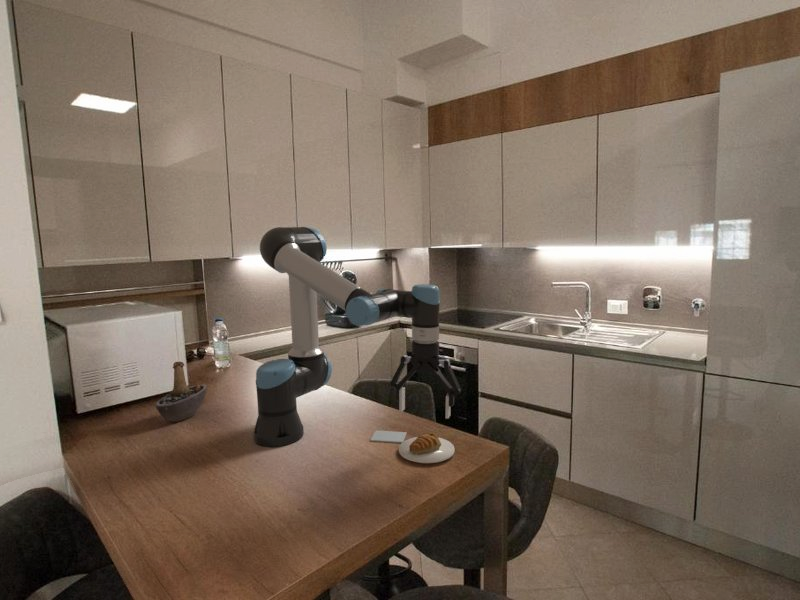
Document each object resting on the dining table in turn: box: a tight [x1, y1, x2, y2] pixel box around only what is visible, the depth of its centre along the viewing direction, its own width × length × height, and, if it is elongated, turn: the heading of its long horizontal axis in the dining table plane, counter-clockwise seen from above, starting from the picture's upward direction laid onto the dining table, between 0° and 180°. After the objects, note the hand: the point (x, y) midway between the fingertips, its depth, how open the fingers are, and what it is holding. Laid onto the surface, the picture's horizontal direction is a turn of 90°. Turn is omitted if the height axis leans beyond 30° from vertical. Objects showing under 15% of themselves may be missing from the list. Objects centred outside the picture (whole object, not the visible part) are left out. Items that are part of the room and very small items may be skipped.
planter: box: [155, 361, 207, 424], centre depth 164 cm, size 15×17×20 cm
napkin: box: [370, 430, 408, 444], centre depth 147 cm, size 10×7×1 cm
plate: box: [398, 436, 455, 464], centre depth 136 cm, size 16×16×1 cm
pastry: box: [409, 432, 441, 455], centre depth 135 cm, size 9×7×4 cm
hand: (424, 413), depth 135 cm, fingers open, 13 cm apart
